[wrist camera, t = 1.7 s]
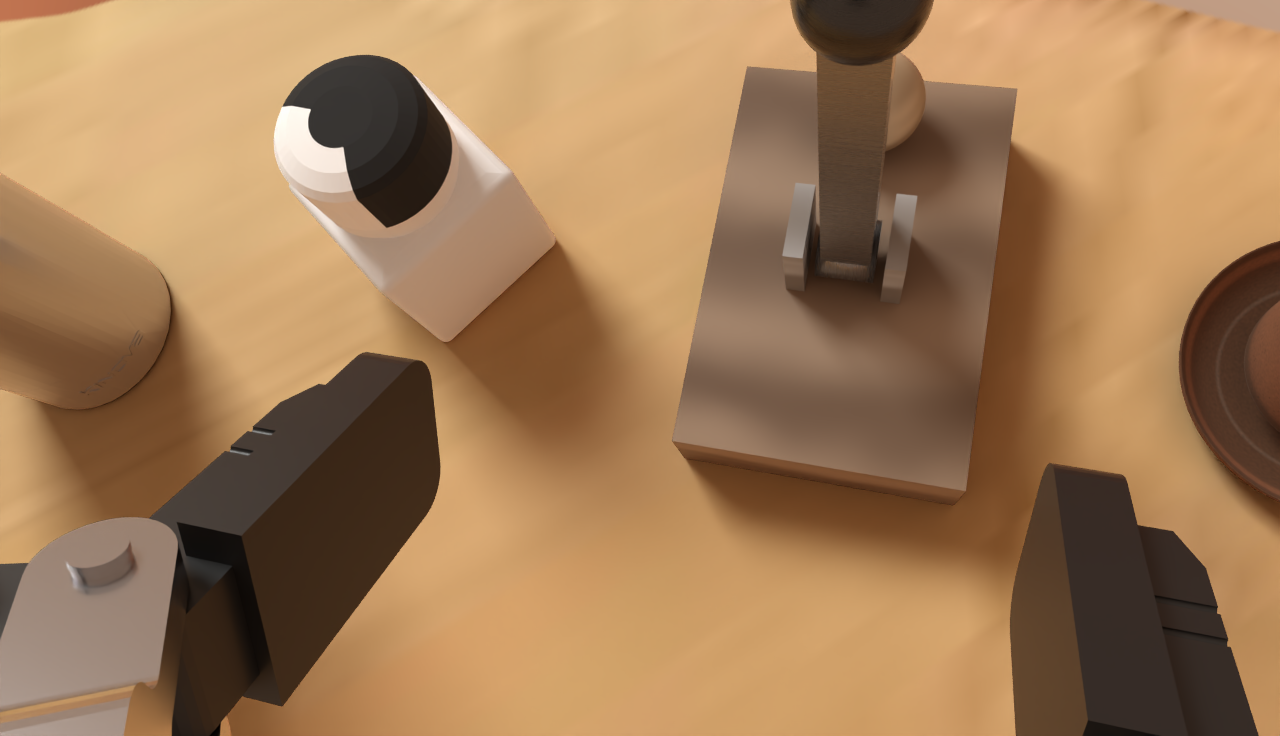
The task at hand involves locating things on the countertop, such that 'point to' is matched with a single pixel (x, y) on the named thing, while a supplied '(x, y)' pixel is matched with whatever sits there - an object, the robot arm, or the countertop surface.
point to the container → (407, 190)
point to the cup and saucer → (1238, 367)
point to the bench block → (850, 295)
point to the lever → (854, 119)
